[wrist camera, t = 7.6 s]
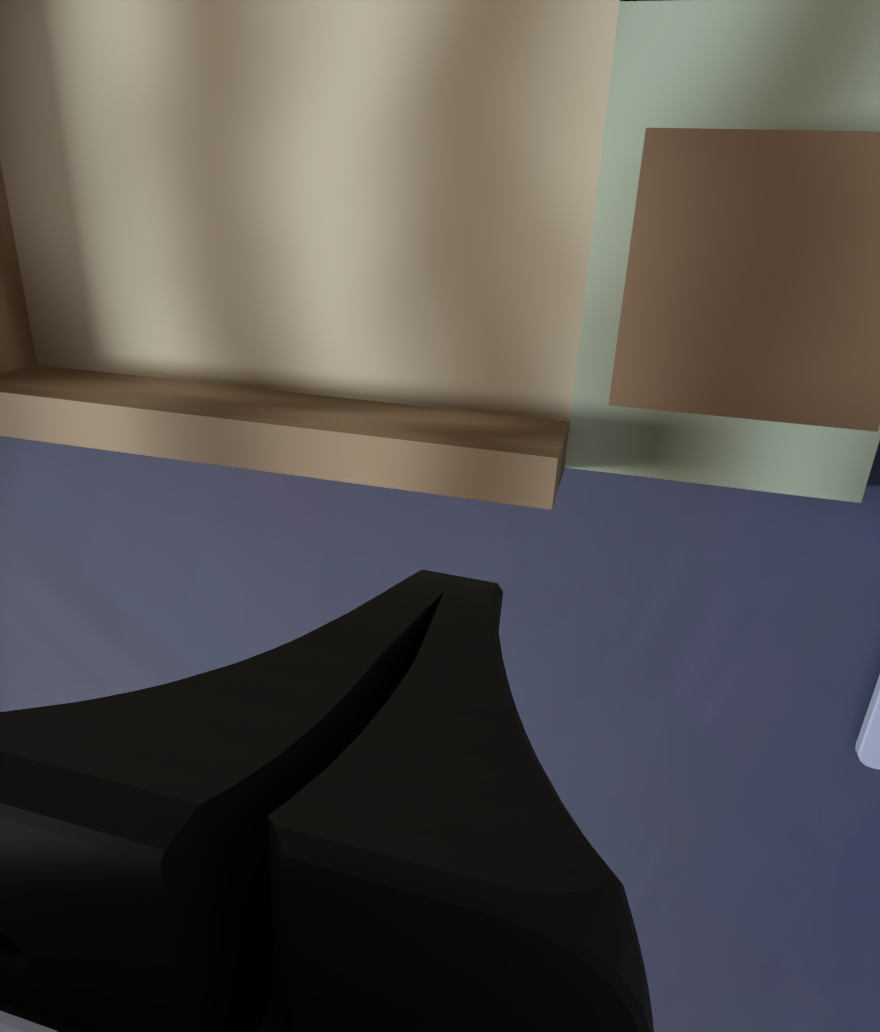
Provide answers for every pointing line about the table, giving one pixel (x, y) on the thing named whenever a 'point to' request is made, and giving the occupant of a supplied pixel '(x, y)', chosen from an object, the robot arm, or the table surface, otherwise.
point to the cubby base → (382, 230)
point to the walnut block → (754, 277)
